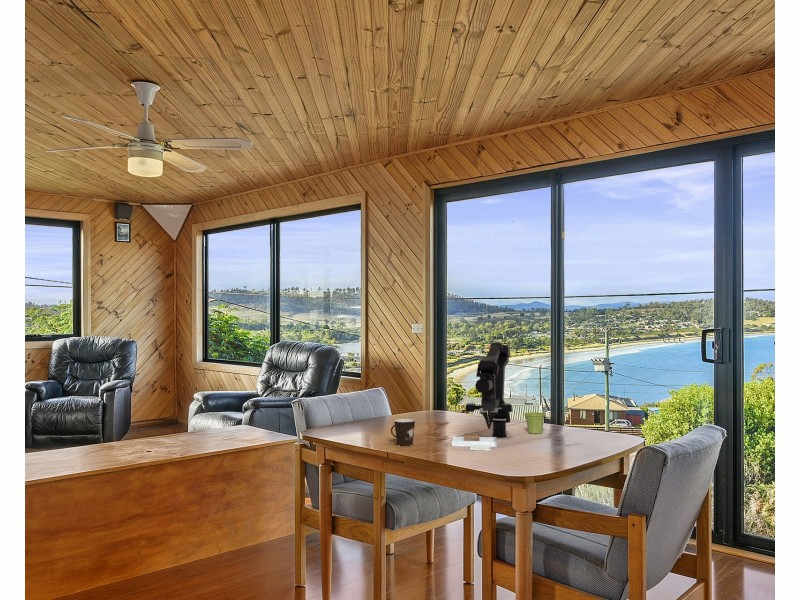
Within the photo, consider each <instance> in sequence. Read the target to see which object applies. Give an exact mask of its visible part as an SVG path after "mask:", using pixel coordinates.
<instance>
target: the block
mask: <svg viewBox="0 0 800 600" xmlns="http://www.w3.org/2000/svg"><path fill="white" fill-rule="evenodd" d="M463 437H464V441H479V437H480V433H464V435H463Z"/></svg>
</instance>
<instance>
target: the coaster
mask: <svg viewBox="0 0 800 600" xmlns="http://www.w3.org/2000/svg"><path fill="white" fill-rule="evenodd" d="M491 448H492V447H491V445H470V446H469V451H470V450H483V451H482V452H491V450H492V449H491Z"/></svg>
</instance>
